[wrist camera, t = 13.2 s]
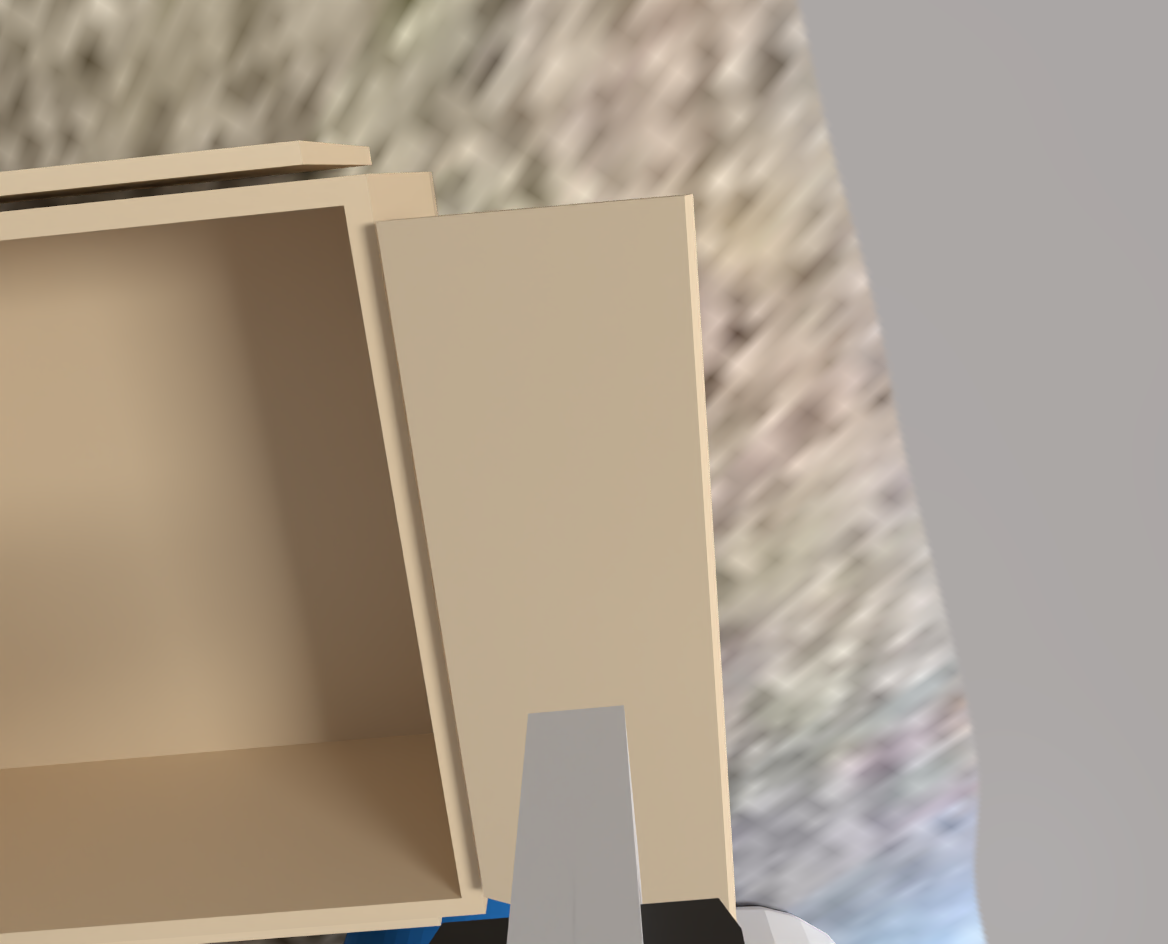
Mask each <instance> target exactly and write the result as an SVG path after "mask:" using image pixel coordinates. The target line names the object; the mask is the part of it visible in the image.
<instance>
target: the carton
mask: <svg viewBox="0 0 1168 944" xmlns="http://www.w3.org/2000/svg"><path fill="white" fill-rule="evenodd" d="M365 165H372V163H371V157H370V150H369V147H365V146H354V145H343V144H331V143H320V142H309V141H290V142H281V143H271V144H262V145H252V146H243V147H233V148H224V149H214V150H205V151H195V152H186V153H176V154H167V155H157V156H148V157H138V158H129V159H119V160H110V161H100V162H91V163H81V164H72V165H62V166H53V167H43V168H34V169H24V170H15V171H5V172H0V203H9V202H19V201H29V200H38V199H48V198H58V197H67V196H77V195H86V194H96V193H106V192H115V191H125V190H134V189H144V188H154V187H163V186H173V185H182V184H192V183H202V182H211V181H221V180H231V179H240V178H250V177H259V176H269V175H279V174H288V173H298V172H307V171H317V170H327V169H336V168H346V167H356V166H365ZM428 216H438V213H437V206H436V199H435V192H434V184H433V177H432V172H411V173H381V174H362V175H352V176H342V177H333V178H323V179H313V180H304V181H294V182H284V183H275V184H265V185H255V186H246V187H236V188H227V189H217V190H207V191H198V192H188V193H178V194H169V195H159V196H149V197H140V198H130V199H120V200H111V201H101V202H92V203H82V204H72V205H63V206H53V207H43V208H34V209H24V210H14V211H5V212H0V944H205V943H218V942H231V941H244V940H258V939H271V938H284V937H297V936H310V935H323V934H337V933H350V932H363V931H376V930H389V929H402V928H416V927H429V926H441V921H442V917H451V916H464V915H477V914H486V908H487V901H488V898H486V897H484V892H483V885H482V879H481V873H480V867H479V861H478V854H477V848H476V842H475V836H474V830H473V823H472V817H471V811H470V805H469V798H468V792H467V786H466V780H465V774H464V767H463V761H462V755H461V749H460V743H459V736H458V730H457V724H456V718H455V711H454V705H453V699H452V693H451V687H450V680H449V674H448V668H447V662H446V655H445V649H444V643H443V637H442V631H441V624H440V618H439V612H438V606H437V600H436V593H435V587H434V581H433V575H432V568H431V562H430V556H429V550H428V544H427V537H426V531H425V525H424V519H423V513H422V506H421V500H420V494H419V488H418V481H417V475H416V469H415V463H414V457H413V450H412V444H411V438H410V432H409V425H408V419H407V413H406V407H405V401H404V394H403V388H402V382H401V376H400V370H399V363H398V357H397V351H396V345H395V338H394V332H393V326H392V320H391V314H390V307H389V301H388V295H387V289H386V283H385V276H384V270H383V264H382V258H381V251H380V245H379V239H378V233H377V227H376V222H379V221H385V220H393V219H405V218H417V217H428Z"/></svg>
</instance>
